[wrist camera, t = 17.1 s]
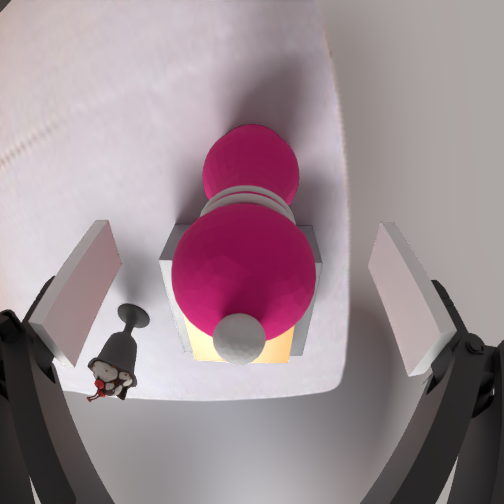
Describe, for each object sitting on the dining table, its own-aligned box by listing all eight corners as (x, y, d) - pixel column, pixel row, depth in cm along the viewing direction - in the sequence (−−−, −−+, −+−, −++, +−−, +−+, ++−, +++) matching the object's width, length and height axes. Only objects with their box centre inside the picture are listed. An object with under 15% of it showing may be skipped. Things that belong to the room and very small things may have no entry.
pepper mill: (243, 102, 22) (191, 219, 6) (309, 151, 24) (395, 341, 8) (196, 166, 25) (104, 358, 9) (260, 207, 28) (259, 416, 12)
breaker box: (174, 224, 29) (158, 260, 24) (312, 225, 29) (322, 262, 24) (192, 315, 37) (184, 352, 33) (298, 317, 37) (302, 355, 32)
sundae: (114, 293, 36) (73, 388, 24) (159, 310, 37) (130, 411, 25) (110, 319, 39) (77, 405, 27) (150, 335, 41) (126, 424, 29)
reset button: (193, 247, 29) (178, 295, 24) (292, 248, 29) (299, 298, 23) (203, 313, 35) (195, 360, 30) (284, 314, 35) (287, 362, 29)
